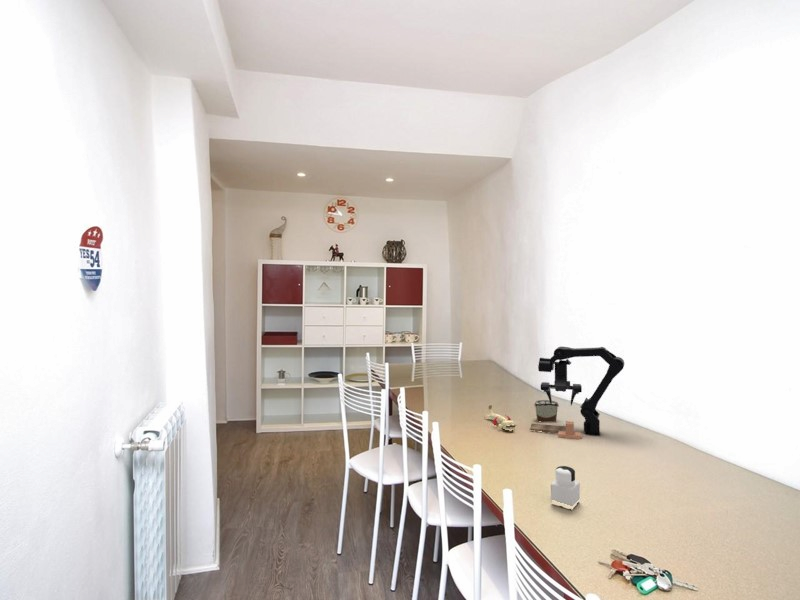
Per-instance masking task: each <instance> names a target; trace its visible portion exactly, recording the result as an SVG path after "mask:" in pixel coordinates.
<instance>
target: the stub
mask: <svg viewBox="0 0 800 600" xmlns="http://www.w3.org/2000/svg"><path fill="white" fill-rule="evenodd" d="M574 424H575V423H574V421H571V420H570V421H568V420H566V421H565V426H566V431H558V434H557V437H558V438H563V437H565V438H564V439H566V438H567V439H574V440H575V439H576V440H582V432H577V431H575V428H574V427H575V426H574Z"/></svg>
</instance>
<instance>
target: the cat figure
mask: <svg viewBox="0 0 800 600" xmlns="http://www.w3.org/2000/svg"><path fill="white" fill-rule="evenodd" d="M492 407H493V405H491V404H489V405H488V411H489V413H485V415H486V416H487V417H491V418H492V419H493V420H492V421H493V422H492V424H494V425H497V423H498V428H499V429H502V427H503V428H504V429H510V430H511V429H513V431H514V430H515V427H516V426H517V423H515V422H514V421H513V420H512V419H511V417H509V415H506V414H505V417H504V416H503V415H500V414H498V413H494V412H493V410H492ZM506 417H507V418H506ZM500 423H501V424H500ZM494 425H493V426H494Z"/></svg>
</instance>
